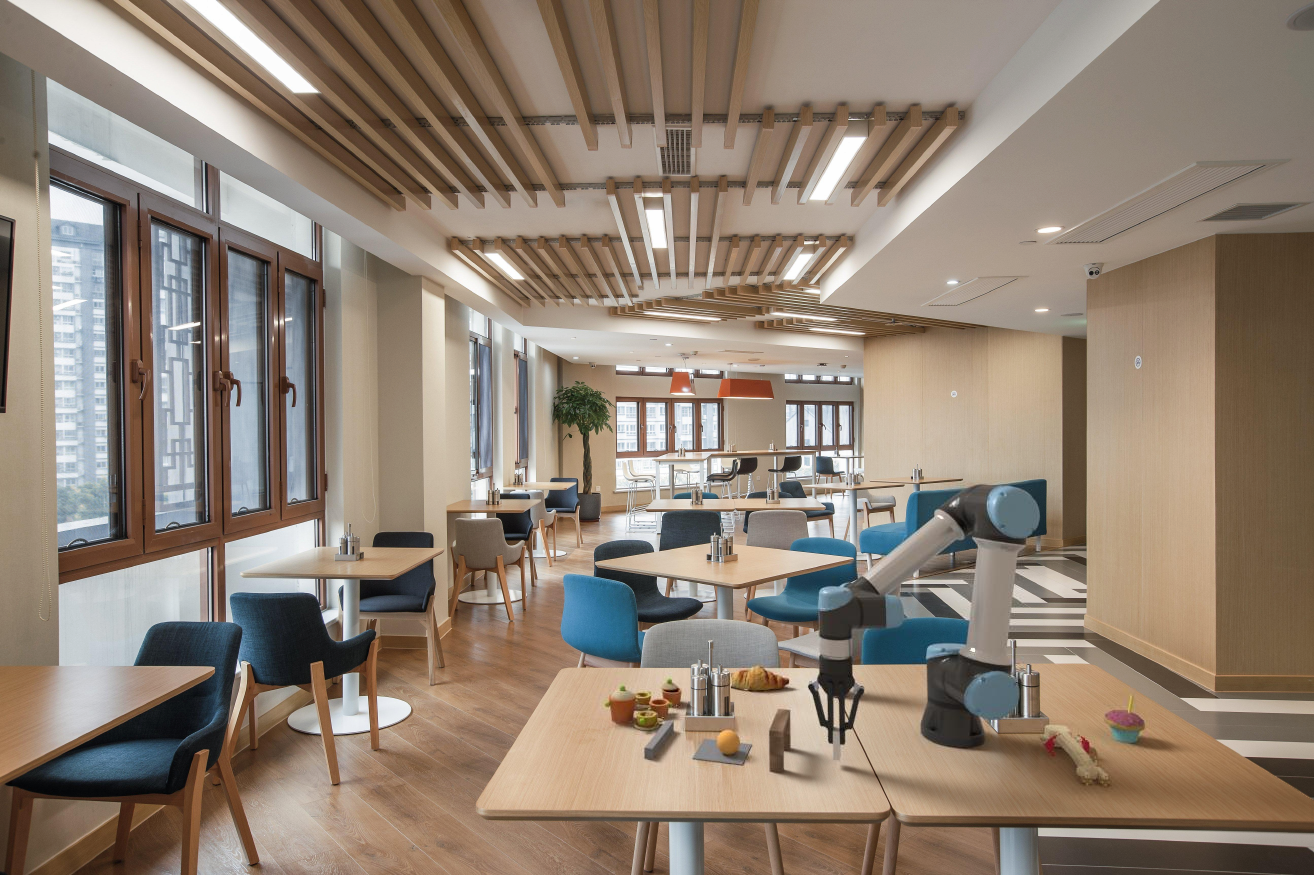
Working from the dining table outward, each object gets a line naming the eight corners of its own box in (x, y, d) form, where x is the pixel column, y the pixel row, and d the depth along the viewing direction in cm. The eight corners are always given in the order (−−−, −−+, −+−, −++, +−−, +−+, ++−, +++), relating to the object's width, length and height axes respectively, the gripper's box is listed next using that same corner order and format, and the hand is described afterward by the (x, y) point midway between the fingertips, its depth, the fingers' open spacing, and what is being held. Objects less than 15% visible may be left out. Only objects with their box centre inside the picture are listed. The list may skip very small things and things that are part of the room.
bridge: (790, 747, 173) (790, 709, 174) (782, 773, 160) (782, 731, 160) (778, 746, 174) (778, 708, 174) (769, 771, 160) (769, 730, 161)
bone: (1121, 793, 152) (1073, 738, 177) (1122, 754, 152) (1073, 704, 176) (1071, 790, 154) (1030, 735, 178) (1072, 751, 153) (1030, 702, 178)
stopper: (673, 731, 184) (673, 721, 184) (652, 759, 167) (652, 748, 167) (666, 730, 185) (666, 720, 185) (644, 758, 168) (644, 747, 168)
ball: (714, 735, 174) (729, 754, 173) (710, 743, 168) (725, 763, 167) (731, 722, 173) (746, 741, 172) (727, 730, 167) (742, 749, 166)
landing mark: (751, 745, 175) (751, 744, 175) (742, 765, 164) (742, 764, 164) (704, 739, 179) (704, 738, 179) (692, 758, 167) (692, 758, 167)
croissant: (720, 699, 218) (719, 680, 215) (721, 675, 227) (720, 656, 224) (790, 701, 215) (789, 682, 211) (788, 677, 224) (788, 657, 220)
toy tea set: (653, 735, 182) (652, 698, 183) (600, 726, 189) (600, 690, 189) (689, 703, 206) (689, 670, 206) (642, 696, 212) (641, 663, 213)
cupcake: (1141, 736, 179) (1140, 688, 179) (1148, 749, 171) (1147, 699, 172) (1102, 731, 183) (1100, 684, 183) (1107, 743, 175) (1106, 694, 175)
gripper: (865, 652, 165) (866, 754, 165) (808, 648, 169) (809, 748, 169) (864, 661, 158) (865, 768, 157) (805, 657, 162) (806, 760, 161)
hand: (836, 757), depth 163 cm, fingers closed
